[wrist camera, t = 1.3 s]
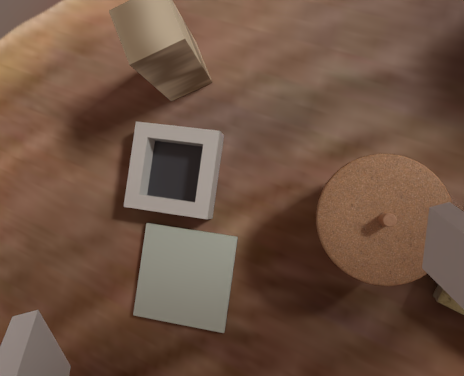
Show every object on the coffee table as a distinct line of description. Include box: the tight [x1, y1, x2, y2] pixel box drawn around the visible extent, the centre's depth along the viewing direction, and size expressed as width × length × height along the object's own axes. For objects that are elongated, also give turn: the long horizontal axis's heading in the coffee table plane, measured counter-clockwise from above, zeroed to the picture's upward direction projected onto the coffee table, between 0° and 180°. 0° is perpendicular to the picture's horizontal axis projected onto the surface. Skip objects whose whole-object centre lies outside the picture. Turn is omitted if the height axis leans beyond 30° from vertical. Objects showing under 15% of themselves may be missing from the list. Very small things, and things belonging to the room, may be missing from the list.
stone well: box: [124, 122, 224, 219], centre depth 40 cm, size 9×9×2 cm
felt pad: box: [133, 223, 238, 333], centre depth 40 cm, size 10×10×1 cm
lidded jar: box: [316, 154, 452, 286], centre depth 33 cm, size 11×11×9 cm
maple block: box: [109, 0, 212, 101], centre depth 36 cm, size 5×5×11 cm
